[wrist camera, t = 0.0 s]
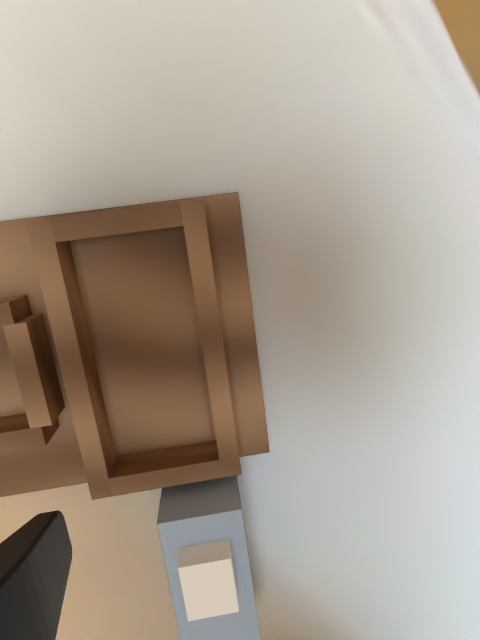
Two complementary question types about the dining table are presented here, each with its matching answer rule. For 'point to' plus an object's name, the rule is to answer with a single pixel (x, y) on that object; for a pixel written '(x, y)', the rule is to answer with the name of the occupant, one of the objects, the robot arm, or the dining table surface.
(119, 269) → the jig
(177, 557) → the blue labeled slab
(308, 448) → the dining table surface
